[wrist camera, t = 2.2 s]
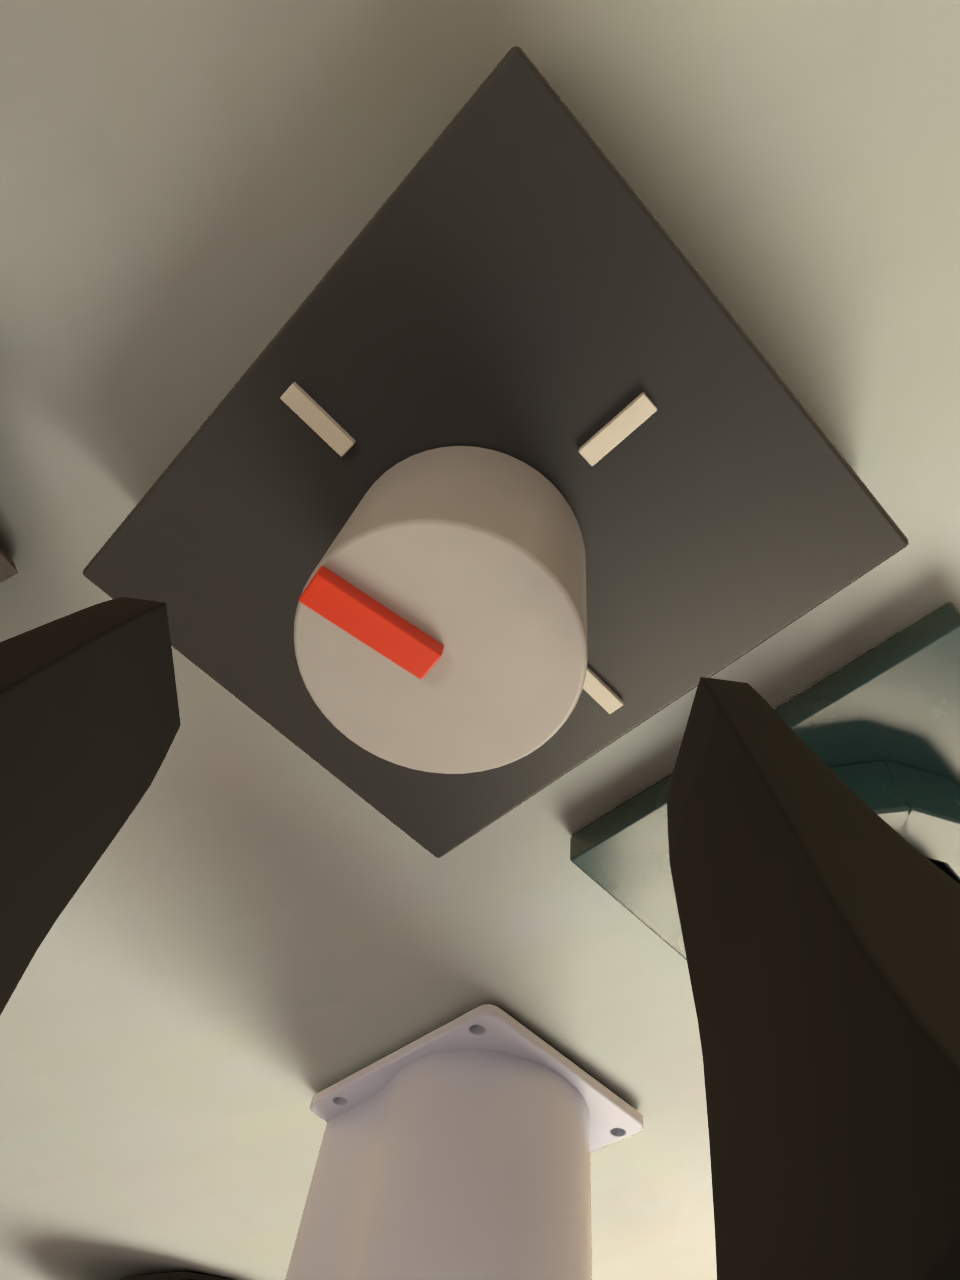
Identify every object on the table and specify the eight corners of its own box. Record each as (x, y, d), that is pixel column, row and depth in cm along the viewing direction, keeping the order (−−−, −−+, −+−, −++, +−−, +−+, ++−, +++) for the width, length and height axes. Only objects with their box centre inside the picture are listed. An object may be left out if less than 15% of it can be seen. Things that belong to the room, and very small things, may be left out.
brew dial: (636, 542, 14) (653, 650, 11) (493, 700, 16) (472, 831, 13) (433, 392, 13) (386, 461, 10) (308, 579, 15) (235, 688, 12)
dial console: (454, 778, 21) (436, 865, 19) (149, 518, 18) (74, 577, 16) (859, 487, 16) (916, 548, 14) (527, 67, 13) (514, 40, 11)
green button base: (763, 1005, 25) (782, 1088, 22) (569, 836, 22) (568, 911, 20) (1138, 839, 20) (1208, 922, 18) (949, 600, 17) (1004, 663, 15)
